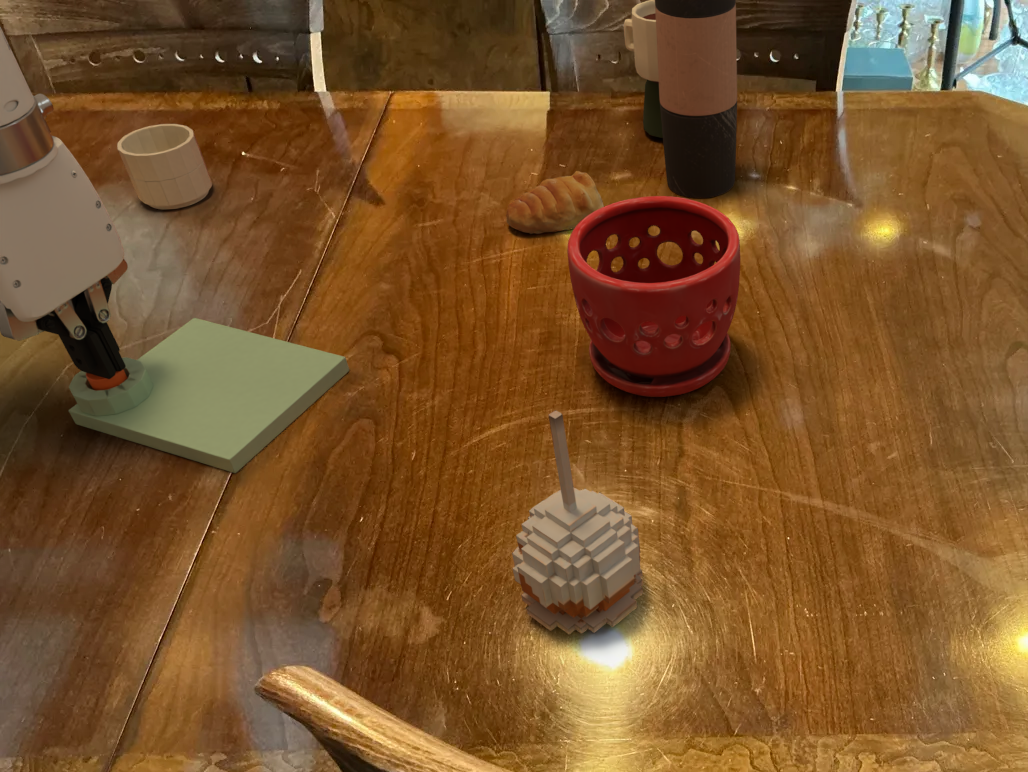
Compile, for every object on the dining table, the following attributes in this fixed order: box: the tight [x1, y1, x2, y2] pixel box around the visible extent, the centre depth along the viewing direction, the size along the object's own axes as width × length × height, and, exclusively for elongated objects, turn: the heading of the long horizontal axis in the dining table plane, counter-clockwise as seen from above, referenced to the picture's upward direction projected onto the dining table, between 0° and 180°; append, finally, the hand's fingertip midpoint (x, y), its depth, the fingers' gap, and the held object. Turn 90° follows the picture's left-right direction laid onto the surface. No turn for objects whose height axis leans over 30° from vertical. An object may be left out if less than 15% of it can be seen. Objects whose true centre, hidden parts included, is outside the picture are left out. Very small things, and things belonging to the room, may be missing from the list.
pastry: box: [505, 170, 605, 235], centre depth 106 cm, size 9×7×4 cm
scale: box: [68, 317, 350, 474], centre depth 86 cm, size 17×14×3 cm
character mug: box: [623, 0, 663, 139], centre depth 116 cm, size 11×7×13 cm, turn 58°
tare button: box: [86, 370, 127, 391], centre depth 84 cm, size 3×3×2 cm
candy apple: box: [511, 409, 644, 635], centre depth 66 cm, size 8×8×15 cm
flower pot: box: [566, 195, 741, 398], centre depth 85 cm, size 13×13×12 cm
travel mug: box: [655, 0, 738, 199], centre depth 105 cm, size 8×8×20 cm
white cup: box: [116, 123, 213, 210], centre depth 110 cm, size 7×7×6 cm
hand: (103, 369), depth 84 cm, fingers closed
